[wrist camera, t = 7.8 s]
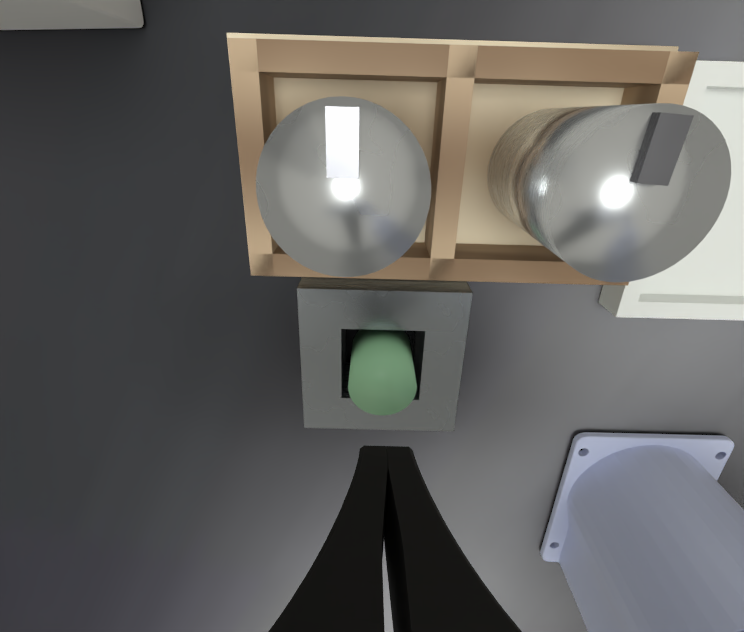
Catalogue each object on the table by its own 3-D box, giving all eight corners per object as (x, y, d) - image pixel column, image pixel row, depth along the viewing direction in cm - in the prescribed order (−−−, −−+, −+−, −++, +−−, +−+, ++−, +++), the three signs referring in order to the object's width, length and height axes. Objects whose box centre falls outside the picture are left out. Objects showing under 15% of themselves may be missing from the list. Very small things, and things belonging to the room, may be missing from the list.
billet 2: (581, 230, 16) (696, 293, 10) (477, 221, 16) (535, 279, 10) (616, 113, 14) (776, 112, 9) (500, 102, 14) (584, 94, 9)
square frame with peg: (444, 392, 21) (453, 431, 18) (312, 389, 21) (304, 427, 18) (458, 268, 18) (472, 293, 15) (307, 264, 18) (296, 288, 15)
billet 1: (407, 223, 16) (425, 283, 10) (301, 220, 16) (260, 279, 10) (414, 105, 14) (440, 98, 9) (295, 102, 14) (243, 93, 9)
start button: (408, 372, 19) (414, 416, 16) (351, 371, 19) (348, 414, 16) (412, 321, 18) (419, 358, 15) (352, 320, 18) (348, 357, 15)
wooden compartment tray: (598, 267, 18) (641, 296, 15) (257, 258, 18) (235, 285, 15) (656, 51, 15) (725, 36, 12) (237, 38, 15) (203, 19, 12)
